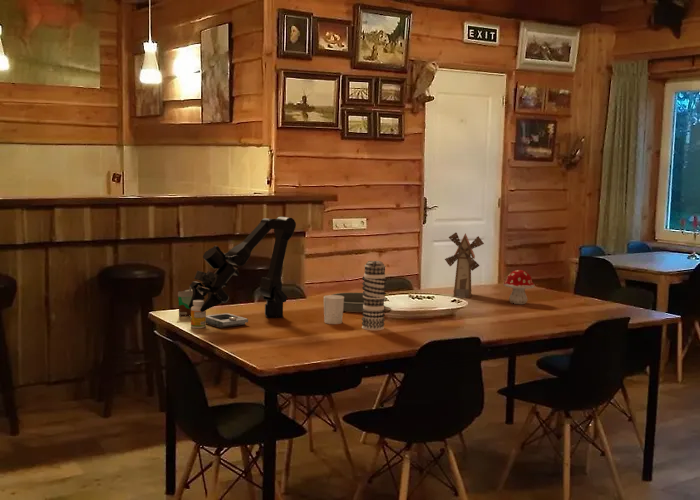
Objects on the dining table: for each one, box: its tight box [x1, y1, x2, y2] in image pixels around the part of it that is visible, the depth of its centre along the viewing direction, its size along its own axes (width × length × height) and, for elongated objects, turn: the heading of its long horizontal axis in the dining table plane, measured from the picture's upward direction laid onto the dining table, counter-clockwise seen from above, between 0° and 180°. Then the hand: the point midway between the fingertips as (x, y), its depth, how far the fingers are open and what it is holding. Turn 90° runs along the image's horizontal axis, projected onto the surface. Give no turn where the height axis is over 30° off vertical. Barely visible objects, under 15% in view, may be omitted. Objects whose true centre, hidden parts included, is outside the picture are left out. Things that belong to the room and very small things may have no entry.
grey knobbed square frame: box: [206, 312, 249, 329], centre depth 309 cm, size 16×11×3 cm
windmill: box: [444, 232, 485, 299], centre depth 383 cm, size 18×13×30 cm
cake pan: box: [331, 292, 387, 313], centre depth 349 cm, size 25×25×4 cm
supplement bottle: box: [190, 299, 207, 329], centre depth 301 cm, size 5×5×10 cm
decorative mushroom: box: [502, 269, 535, 305], centre depth 369 cm, size 14×14×15 cm
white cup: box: [323, 294, 344, 325], centre depth 316 cm, size 8×8×10 cm
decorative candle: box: [361, 260, 388, 331], centre depth 307 cm, size 9×9×25 cm
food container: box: [177, 286, 193, 317], centre depth 323 cm, size 12×6×10 cm, turn 168°
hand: (195, 309), depth 300 cm, fingers open, 8 cm apart
